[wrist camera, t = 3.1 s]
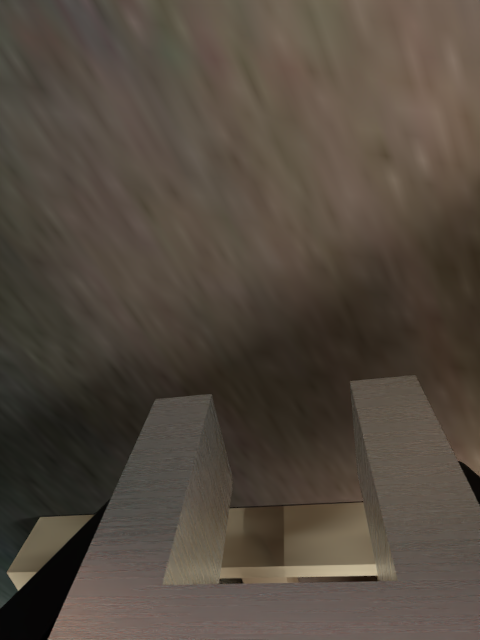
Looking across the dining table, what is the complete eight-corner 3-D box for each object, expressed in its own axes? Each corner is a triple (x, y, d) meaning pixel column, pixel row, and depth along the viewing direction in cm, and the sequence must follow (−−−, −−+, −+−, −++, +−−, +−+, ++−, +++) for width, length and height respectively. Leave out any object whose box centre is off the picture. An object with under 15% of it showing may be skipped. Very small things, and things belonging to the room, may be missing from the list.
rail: (537, 494, 15) (579, 559, 13) (519, 595, 18) (553, 665, 16) (40, 517, 19) (6, 572, 16) (85, 600, 21) (61, 657, 19)
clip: (415, 375, 9) (635, 824, 3) (415, 469, 10) (581, 922, 5) (155, 398, 10) (-16, 779, 4) (182, 483, 11) (76, 870, 6)
